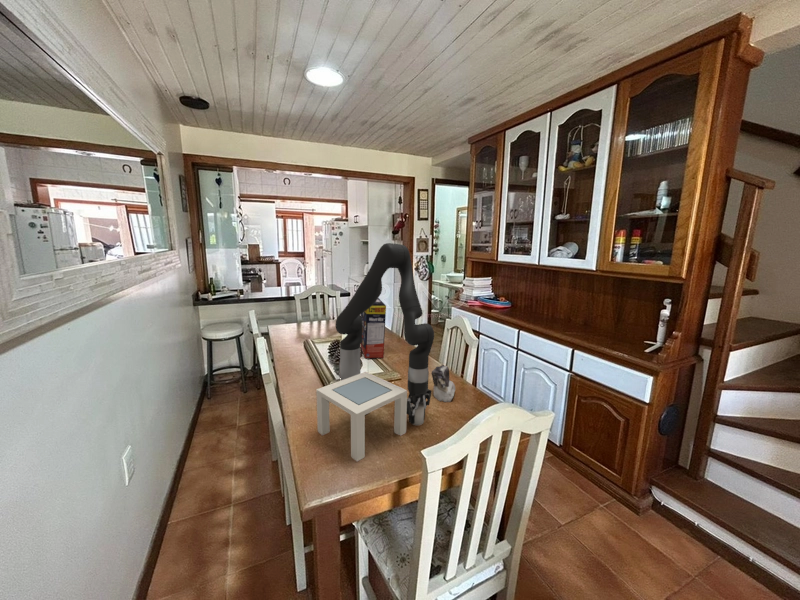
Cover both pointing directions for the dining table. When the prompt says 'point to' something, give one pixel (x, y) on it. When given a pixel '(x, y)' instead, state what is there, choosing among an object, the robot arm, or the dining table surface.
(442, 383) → the stone
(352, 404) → the stand
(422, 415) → the white rounded cylinder
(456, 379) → the dining table surface
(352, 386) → the trapdoor
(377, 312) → the cereal box
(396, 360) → the dining table surface
